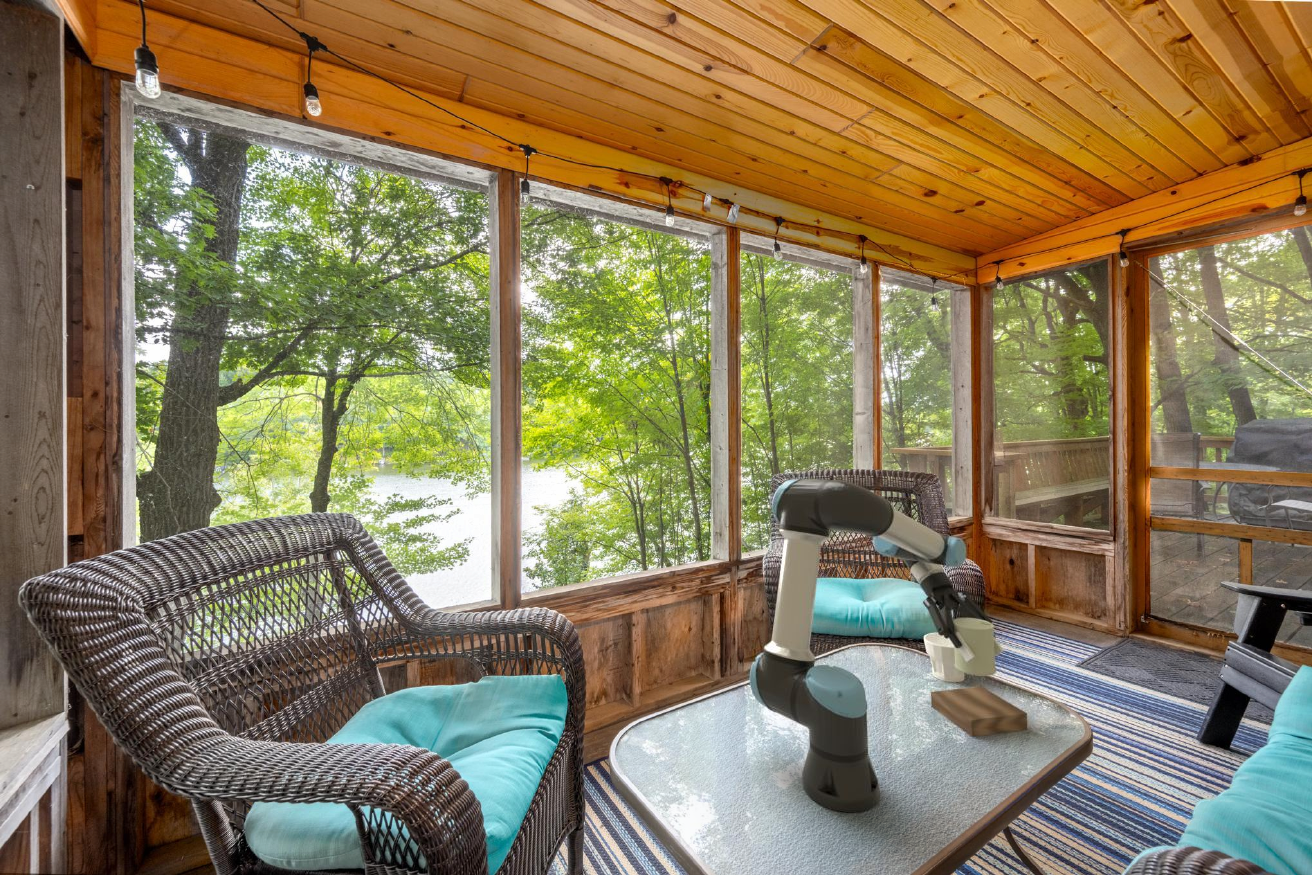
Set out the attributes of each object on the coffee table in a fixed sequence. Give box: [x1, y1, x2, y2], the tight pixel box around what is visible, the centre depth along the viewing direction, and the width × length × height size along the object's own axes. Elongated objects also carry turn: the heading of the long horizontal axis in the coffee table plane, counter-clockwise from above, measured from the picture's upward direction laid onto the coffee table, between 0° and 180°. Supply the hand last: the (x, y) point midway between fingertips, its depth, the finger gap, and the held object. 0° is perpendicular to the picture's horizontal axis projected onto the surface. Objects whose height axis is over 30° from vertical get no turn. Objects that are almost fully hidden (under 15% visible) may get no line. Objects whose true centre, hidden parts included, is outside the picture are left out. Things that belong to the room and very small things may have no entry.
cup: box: [923, 632, 966, 683], centre depth 161 cm, size 12×12×11 cm
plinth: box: [930, 686, 1029, 738], centre depth 137 cm, size 15×15×4 cm
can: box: [952, 617, 997, 677], centre depth 137 cm, size 9×9×12 cm
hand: (985, 656), depth 134 cm, fingers closed on can, 9 cm apart
